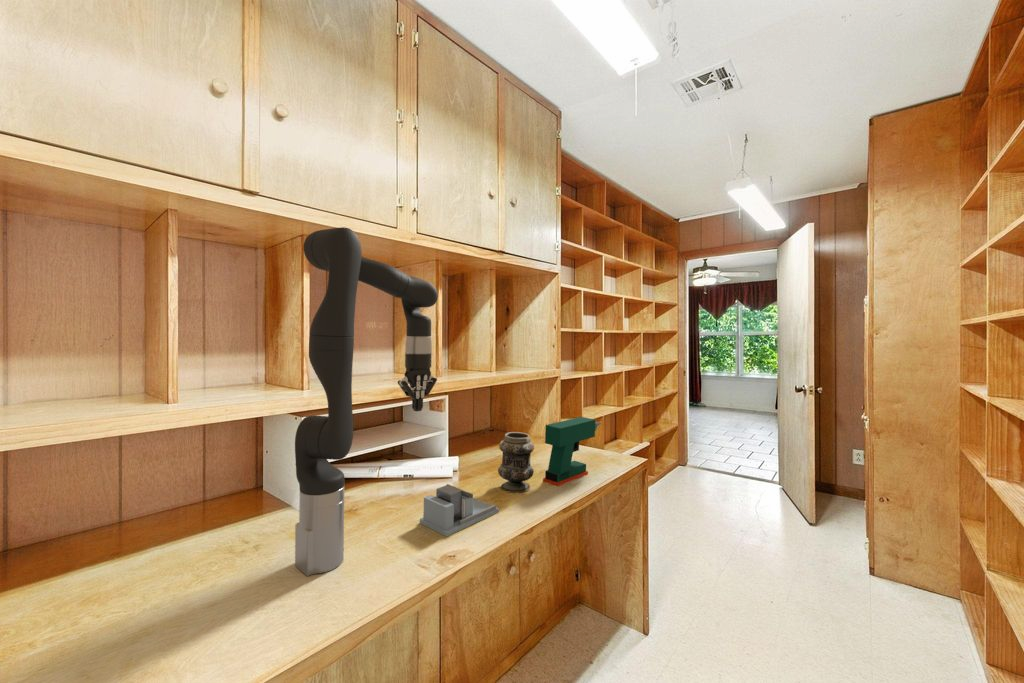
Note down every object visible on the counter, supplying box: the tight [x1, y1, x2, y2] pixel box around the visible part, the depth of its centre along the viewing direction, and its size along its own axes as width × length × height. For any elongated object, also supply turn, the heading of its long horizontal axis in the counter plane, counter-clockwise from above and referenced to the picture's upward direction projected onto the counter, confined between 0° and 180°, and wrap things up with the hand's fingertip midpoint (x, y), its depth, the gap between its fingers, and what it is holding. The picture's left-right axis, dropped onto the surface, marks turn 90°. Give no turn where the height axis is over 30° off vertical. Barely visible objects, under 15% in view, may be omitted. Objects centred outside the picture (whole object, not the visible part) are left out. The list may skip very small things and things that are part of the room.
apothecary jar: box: [497, 431, 535, 494], centre depth 144 cm, size 12×12×18 cm
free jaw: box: [446, 483, 474, 519], centre depth 120 cm, size 3×10×7 cm, turn 50°
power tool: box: [542, 416, 602, 487], centre depth 159 cm, size 32×7×20 cm, turn 136°
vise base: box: [419, 494, 500, 537], centre depth 120 cm, size 20×11×7 cm, turn 140°
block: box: [435, 484, 463, 523], centre depth 117 cm, size 4×6×8 cm, turn 50°
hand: (417, 410), depth 125 cm, fingers closed
